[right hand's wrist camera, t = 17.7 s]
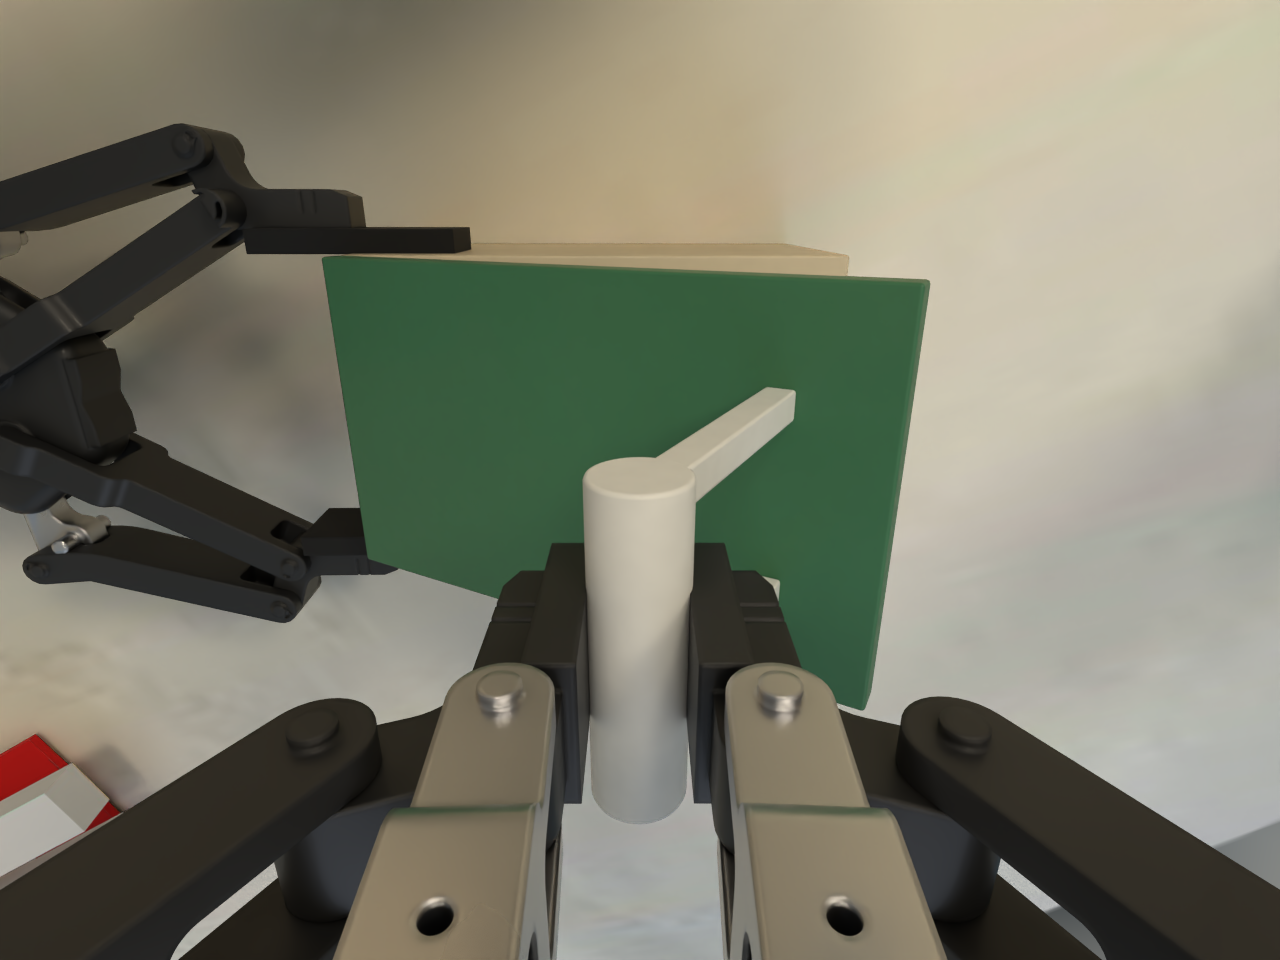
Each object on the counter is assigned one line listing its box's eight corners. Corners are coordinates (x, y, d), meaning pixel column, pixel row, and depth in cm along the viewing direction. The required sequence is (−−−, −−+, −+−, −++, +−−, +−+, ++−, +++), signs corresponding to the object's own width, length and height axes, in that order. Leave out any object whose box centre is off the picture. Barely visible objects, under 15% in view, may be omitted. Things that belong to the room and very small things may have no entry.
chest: (786, 243, 30) (850, 255, 22) (770, 462, 33) (820, 542, 25) (415, 243, 29) (338, 254, 21) (439, 465, 33) (381, 548, 25)
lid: (931, 279, 14) (830, 341, 7) (871, 692, 17) (765, 995, 11) (344, 255, 21) (20, 274, 14) (386, 549, 25) (142, 675, 18)
